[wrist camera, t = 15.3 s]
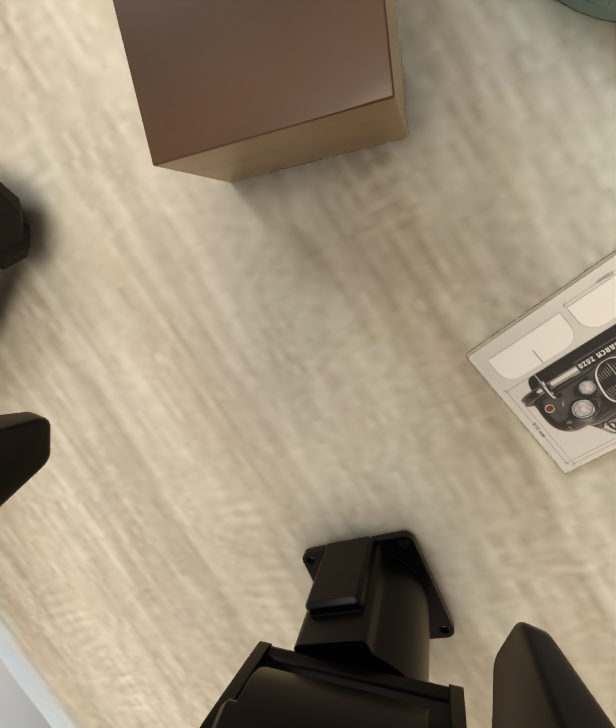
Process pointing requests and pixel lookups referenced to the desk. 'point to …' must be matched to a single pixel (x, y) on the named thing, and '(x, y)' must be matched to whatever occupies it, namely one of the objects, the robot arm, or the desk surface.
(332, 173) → the desk surface
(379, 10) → the block
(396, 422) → the desk surface
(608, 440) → the white gadget package
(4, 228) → the microphone
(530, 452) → the desk surface
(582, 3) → the teal cup
